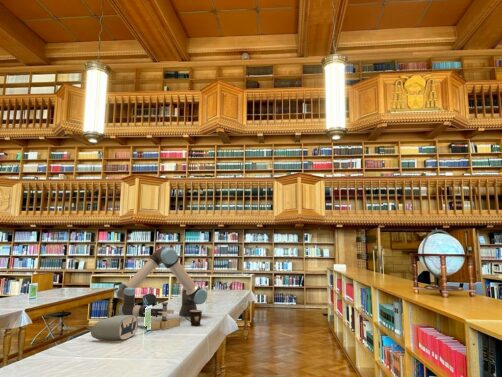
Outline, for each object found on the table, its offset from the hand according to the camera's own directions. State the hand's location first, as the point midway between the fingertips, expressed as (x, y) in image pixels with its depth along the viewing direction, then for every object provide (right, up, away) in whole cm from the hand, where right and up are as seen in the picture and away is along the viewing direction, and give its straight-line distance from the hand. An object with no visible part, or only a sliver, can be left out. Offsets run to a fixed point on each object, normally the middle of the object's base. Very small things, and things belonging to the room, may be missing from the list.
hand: (170, 313), depth 258 cm
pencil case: (-28, -6, -29) cm, 41 cm away
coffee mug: (+14, -12, +11) cm, 22 cm away
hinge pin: (-4, -10, -1) cm, 11 cm away
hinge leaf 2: (-1, -11, +3) cm, 11 cm away
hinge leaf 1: (-8, -9, -4) cm, 13 cm away
